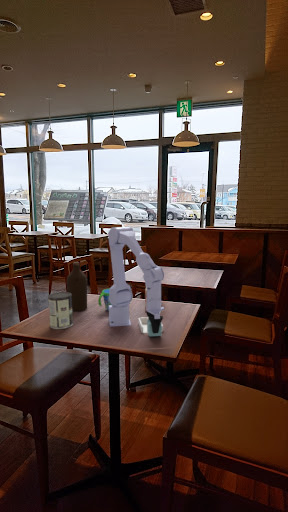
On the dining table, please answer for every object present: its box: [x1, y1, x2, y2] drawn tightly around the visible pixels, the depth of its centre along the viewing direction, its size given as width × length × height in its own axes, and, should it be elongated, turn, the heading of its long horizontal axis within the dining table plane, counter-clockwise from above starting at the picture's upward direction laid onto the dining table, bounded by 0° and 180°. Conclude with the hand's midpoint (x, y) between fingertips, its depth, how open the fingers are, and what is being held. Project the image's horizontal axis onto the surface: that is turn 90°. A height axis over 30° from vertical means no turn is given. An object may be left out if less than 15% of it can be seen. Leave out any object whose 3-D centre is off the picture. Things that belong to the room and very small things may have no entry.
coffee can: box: [47, 291, 74, 330], centre depth 141 cm, size 10×10×14 cm
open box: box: [137, 316, 164, 334], centre depth 136 cm, size 9×12×3 cm
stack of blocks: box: [144, 286, 147, 314], centre depth 166 cm, size 21×6×12 cm, turn 174°
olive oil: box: [66, 261, 88, 313], centre depth 163 cm, size 11×11×25 cm
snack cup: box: [98, 287, 112, 312], centre depth 163 cm, size 16×10×10 cm
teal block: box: [147, 320, 163, 337], centre depth 126 cm, size 5×5×5 cm
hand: (154, 330), depth 126 cm, fingers closed on teal block, 5 cm apart
